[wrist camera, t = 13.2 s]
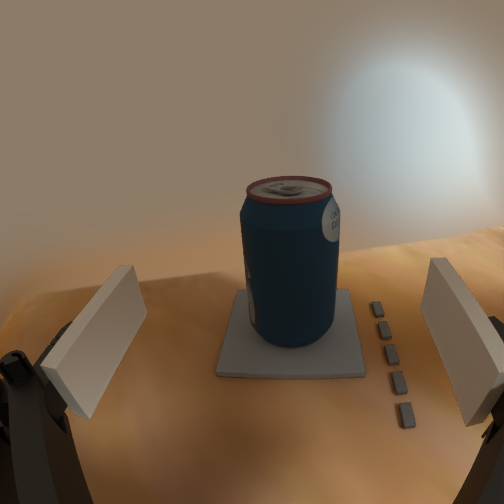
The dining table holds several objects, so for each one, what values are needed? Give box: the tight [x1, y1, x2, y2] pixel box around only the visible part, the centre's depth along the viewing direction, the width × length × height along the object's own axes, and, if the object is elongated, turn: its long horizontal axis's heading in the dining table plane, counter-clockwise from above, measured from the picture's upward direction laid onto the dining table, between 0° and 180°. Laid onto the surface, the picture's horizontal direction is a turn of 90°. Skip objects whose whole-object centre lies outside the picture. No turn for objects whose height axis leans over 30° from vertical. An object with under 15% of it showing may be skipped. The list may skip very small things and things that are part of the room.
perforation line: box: [372, 301, 416, 429], centre depth 23 cm, size 1×14×1 cm, turn 173°
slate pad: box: [215, 289, 366, 379], centre depth 27 cm, size 11×11×1 cm
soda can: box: [240, 176, 340, 349], centre depth 24 cm, size 7×7×12 cm
